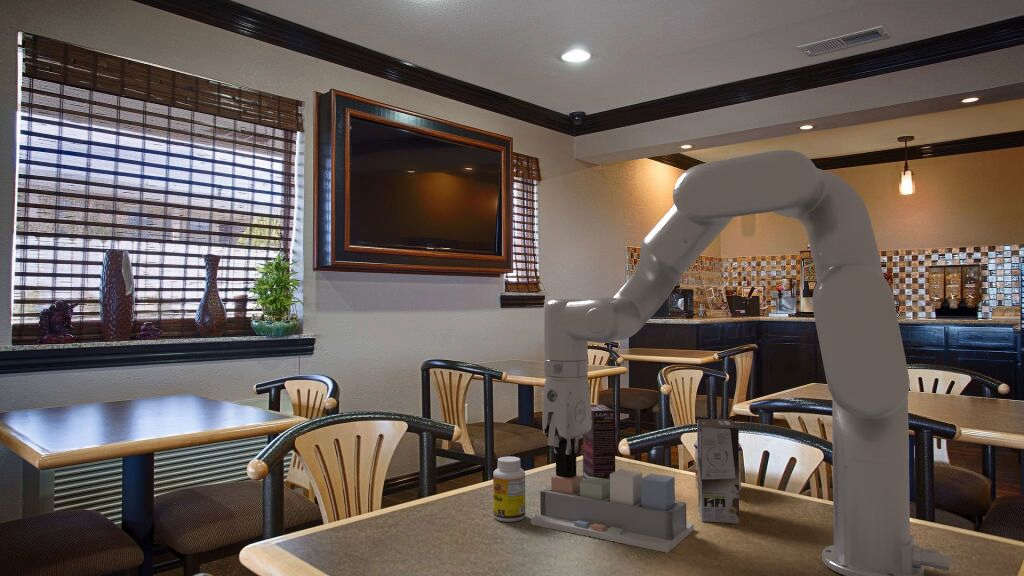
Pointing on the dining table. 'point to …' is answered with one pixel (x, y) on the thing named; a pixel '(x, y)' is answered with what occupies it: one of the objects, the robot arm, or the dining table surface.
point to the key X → (626, 487)
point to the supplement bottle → (509, 490)
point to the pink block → (566, 484)
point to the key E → (595, 488)
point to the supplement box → (599, 444)
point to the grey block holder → (614, 520)
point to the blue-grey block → (658, 492)
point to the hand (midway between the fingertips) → (566, 475)
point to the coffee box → (718, 470)
